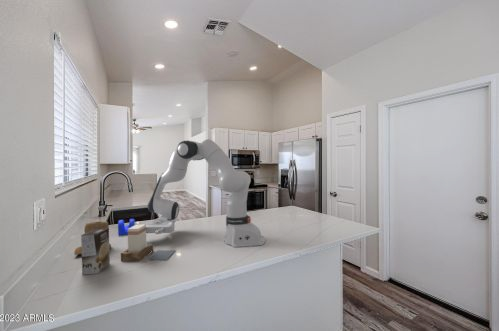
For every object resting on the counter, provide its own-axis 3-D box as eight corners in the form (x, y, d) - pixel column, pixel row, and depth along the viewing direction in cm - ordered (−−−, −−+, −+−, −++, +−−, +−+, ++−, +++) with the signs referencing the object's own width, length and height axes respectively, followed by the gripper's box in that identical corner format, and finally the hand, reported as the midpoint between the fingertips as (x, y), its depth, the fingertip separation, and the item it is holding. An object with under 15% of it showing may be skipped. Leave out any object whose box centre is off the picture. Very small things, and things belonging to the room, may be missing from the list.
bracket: (133, 234, 144) (132, 220, 144) (118, 235, 141) (117, 221, 141) (138, 226, 161) (137, 214, 161) (125, 228, 158) (124, 215, 158)
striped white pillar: (146, 252, 113) (145, 224, 112) (138, 258, 106) (138, 228, 105) (136, 252, 113) (136, 224, 113) (128, 258, 106) (127, 228, 106)
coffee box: (98, 273, 92) (97, 234, 91) (81, 275, 91) (80, 235, 91) (110, 263, 101) (109, 227, 101) (95, 264, 100) (94, 228, 100)
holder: (153, 250, 115) (152, 243, 115) (140, 261, 103) (139, 253, 103) (135, 250, 116) (135, 243, 116) (121, 260, 104) (120, 253, 104)
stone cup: (110, 244, 126) (109, 217, 126) (111, 251, 116) (110, 221, 116) (76, 250, 118) (75, 221, 118) (74, 258, 108) (73, 227, 108)
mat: (175, 251, 114) (175, 250, 114) (166, 260, 103) (166, 259, 103) (158, 251, 114) (158, 250, 114) (147, 260, 103) (147, 259, 103)
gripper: (142, 220, 134) (128, 226, 120) (176, 219, 132) (166, 226, 118) (143, 230, 134) (129, 238, 120) (176, 230, 132) (166, 238, 119)
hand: (148, 232), depth 119 cm, fingers open, 8 cm apart
